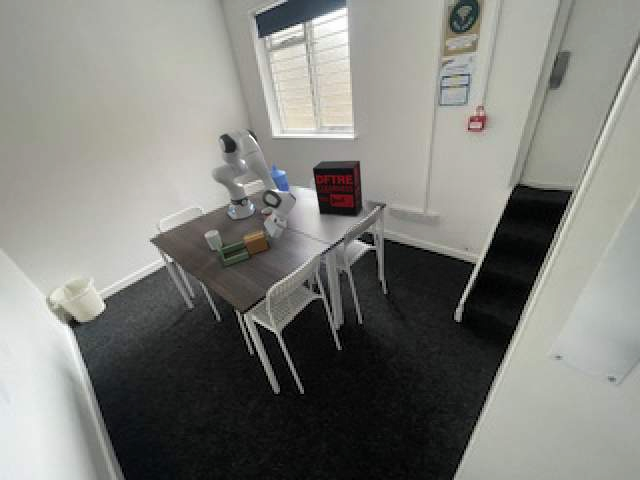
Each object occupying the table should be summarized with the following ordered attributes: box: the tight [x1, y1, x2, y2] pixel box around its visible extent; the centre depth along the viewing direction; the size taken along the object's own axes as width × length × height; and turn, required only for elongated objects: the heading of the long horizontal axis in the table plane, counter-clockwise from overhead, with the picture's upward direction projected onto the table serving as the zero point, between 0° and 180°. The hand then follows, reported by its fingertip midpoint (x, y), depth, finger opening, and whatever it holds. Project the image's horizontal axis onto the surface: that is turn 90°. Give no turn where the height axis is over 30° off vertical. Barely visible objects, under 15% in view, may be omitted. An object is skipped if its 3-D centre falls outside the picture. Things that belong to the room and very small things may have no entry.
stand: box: [216, 239, 250, 268], centre depth 147 cm, size 14×14×10 cm
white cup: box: [204, 229, 223, 251], centre depth 158 cm, size 8×8×10 cm
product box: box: [312, 160, 363, 217], centre depth 172 cm, size 26×14×32 cm, turn 67°
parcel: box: [243, 229, 269, 256], centre depth 151 cm, size 11×9×9 cm
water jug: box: [269, 164, 291, 193], centre depth 205 cm, size 16×16×28 cm
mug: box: [261, 206, 274, 221], centre depth 170 cm, size 13×9×14 cm
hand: (265, 238), depth 153 cm, fingers closed, pressing on parcel
